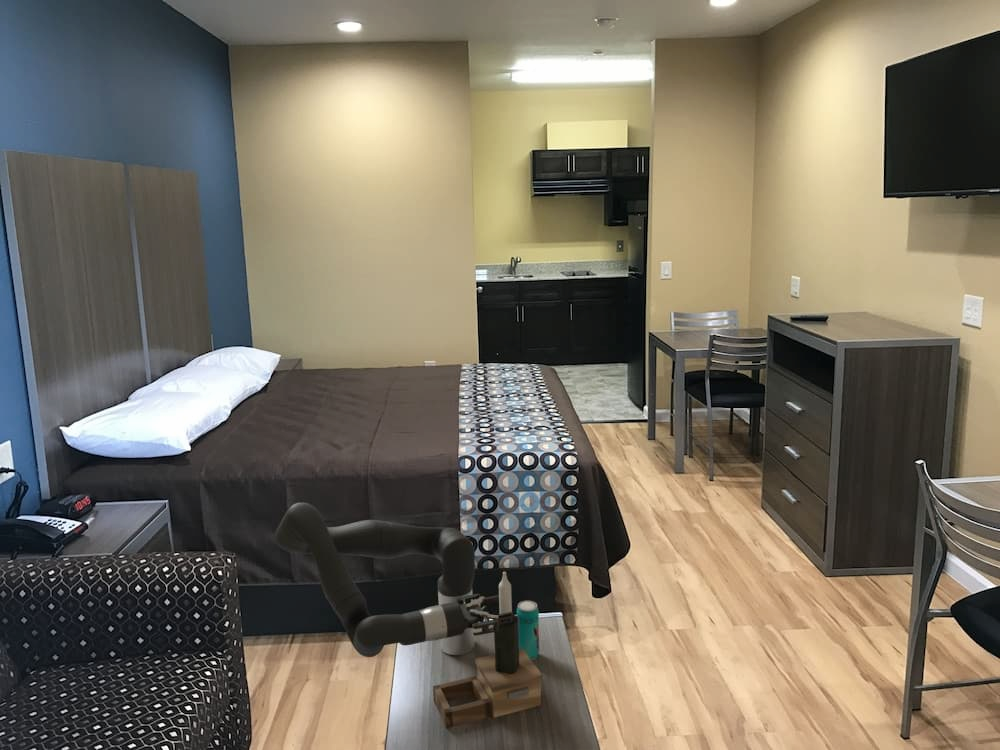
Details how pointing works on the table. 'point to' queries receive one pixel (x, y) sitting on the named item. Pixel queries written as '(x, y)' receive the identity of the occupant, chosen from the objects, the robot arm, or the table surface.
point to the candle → (506, 633)
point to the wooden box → (490, 692)
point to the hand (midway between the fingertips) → (506, 607)
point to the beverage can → (528, 628)
